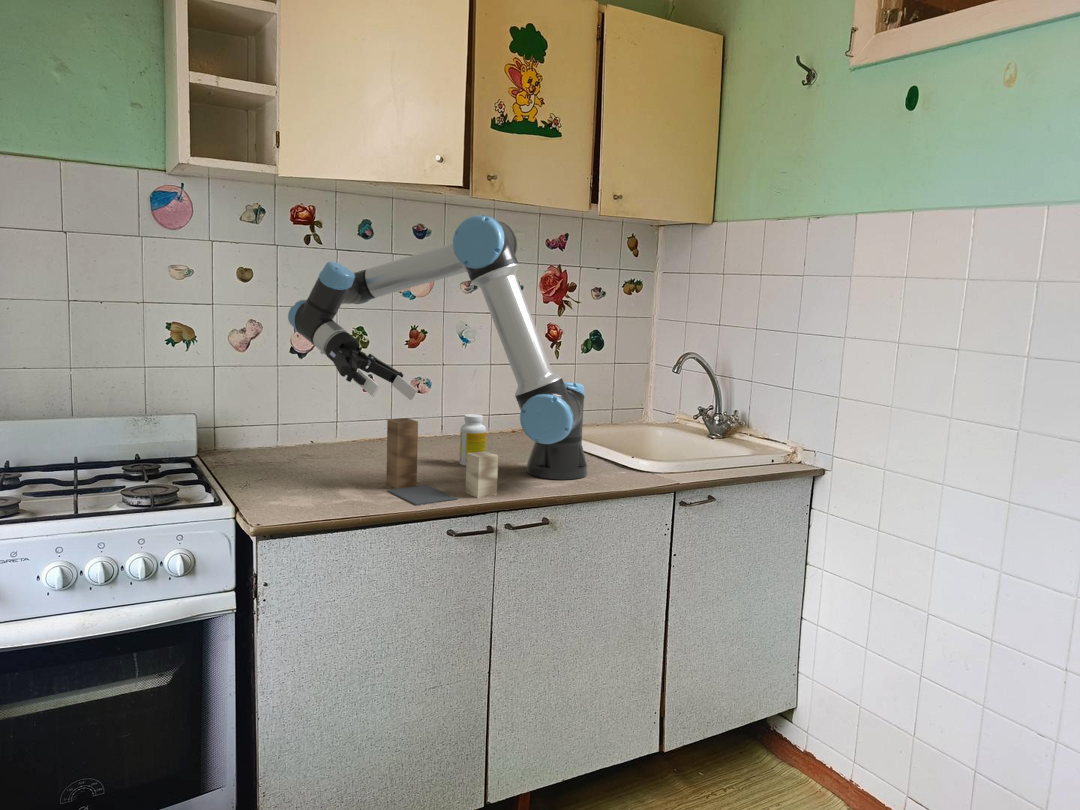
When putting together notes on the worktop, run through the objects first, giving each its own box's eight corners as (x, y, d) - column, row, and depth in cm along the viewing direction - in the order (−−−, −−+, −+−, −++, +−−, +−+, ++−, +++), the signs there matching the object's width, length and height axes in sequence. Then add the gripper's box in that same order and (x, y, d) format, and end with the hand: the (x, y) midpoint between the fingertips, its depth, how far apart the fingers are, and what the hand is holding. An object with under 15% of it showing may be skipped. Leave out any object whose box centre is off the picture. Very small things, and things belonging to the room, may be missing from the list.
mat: (427, 486, 179) (427, 484, 179) (457, 499, 169) (457, 498, 169) (387, 491, 173) (387, 490, 173) (416, 505, 163) (416, 504, 163)
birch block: (484, 490, 178) (485, 451, 176) (496, 495, 174) (498, 455, 172) (465, 492, 175) (466, 453, 173) (477, 498, 171) (479, 457, 169)
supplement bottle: (490, 465, 203) (492, 416, 201) (470, 468, 198) (472, 418, 196) (473, 460, 207) (475, 412, 205) (454, 463, 203) (455, 414, 201)
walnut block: (406, 482, 182) (407, 418, 179) (416, 486, 178) (418, 421, 176) (386, 484, 179) (387, 419, 176) (396, 489, 175) (397, 423, 172)
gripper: (364, 363, 198) (420, 409, 190) (291, 351, 176) (350, 403, 167) (378, 337, 197) (435, 383, 188) (306, 323, 175) (366, 374, 166)
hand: (395, 393), depth 178 cm, fingers open, 13 cm apart
